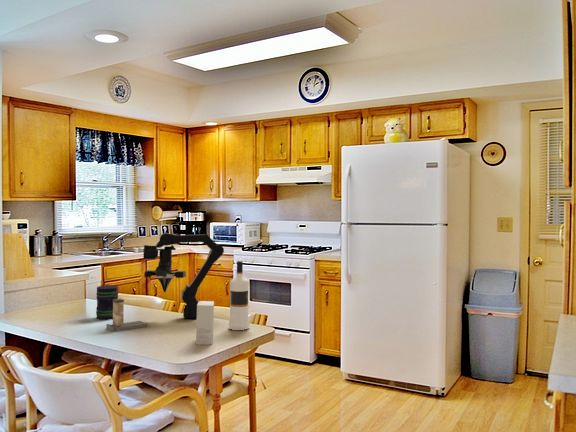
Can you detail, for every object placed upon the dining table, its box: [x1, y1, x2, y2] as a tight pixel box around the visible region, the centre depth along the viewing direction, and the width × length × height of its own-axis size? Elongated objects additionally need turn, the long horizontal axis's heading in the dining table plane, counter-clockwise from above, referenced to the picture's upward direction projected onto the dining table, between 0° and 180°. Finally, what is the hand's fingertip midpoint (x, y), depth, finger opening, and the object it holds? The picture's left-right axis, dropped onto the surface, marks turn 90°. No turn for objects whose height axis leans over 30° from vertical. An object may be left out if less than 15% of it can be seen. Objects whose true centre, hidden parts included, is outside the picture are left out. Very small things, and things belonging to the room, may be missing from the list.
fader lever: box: [112, 298, 125, 326], centre depth 213 cm, size 3×4×11 cm
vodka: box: [228, 260, 250, 331], centre depth 217 cm, size 9×9×30 cm
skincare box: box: [195, 300, 215, 346], centre depth 194 cm, size 8×7×16 cm
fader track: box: [105, 320, 148, 333], centre depth 216 cm, size 16×7×2 cm, turn 133°
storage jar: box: [95, 285, 119, 321], centre depth 236 cm, size 10×10×15 cm
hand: (165, 292), depth 235 cm, fingers closed
